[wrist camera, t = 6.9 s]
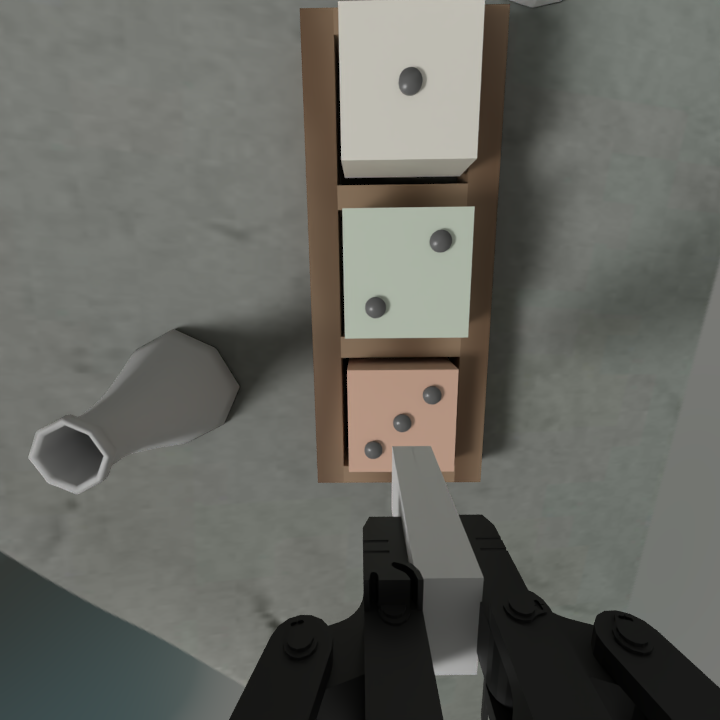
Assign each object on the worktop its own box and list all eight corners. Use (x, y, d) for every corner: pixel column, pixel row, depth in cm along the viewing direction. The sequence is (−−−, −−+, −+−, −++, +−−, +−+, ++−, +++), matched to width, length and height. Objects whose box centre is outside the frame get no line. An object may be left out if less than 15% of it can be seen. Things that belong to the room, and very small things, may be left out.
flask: (105, 387, 25) (-56, 459, 16) (173, 308, 24) (43, 331, 14) (191, 458, 26) (90, 566, 17) (260, 385, 25) (194, 455, 15)
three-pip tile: (350, 447, 25) (348, 473, 22) (349, 357, 24) (346, 371, 21) (442, 447, 25) (454, 473, 22) (446, 357, 24) (459, 370, 21)
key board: (322, 463, 26) (318, 482, 24) (307, 39, 21) (299, 8, 18) (469, 462, 26) (480, 482, 24) (492, 35, 21) (510, 4, 18)
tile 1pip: (344, 178, 20) (341, 159, 17) (342, 46, 19) (337, -3, 16) (459, 176, 20) (478, 157, 17) (465, 43, 19) (486, -6, 16)
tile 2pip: (347, 329, 22) (344, 339, 19) (345, 218, 21) (342, 207, 17) (453, 328, 22) (469, 338, 19) (457, 216, 21) (475, 205, 17)
